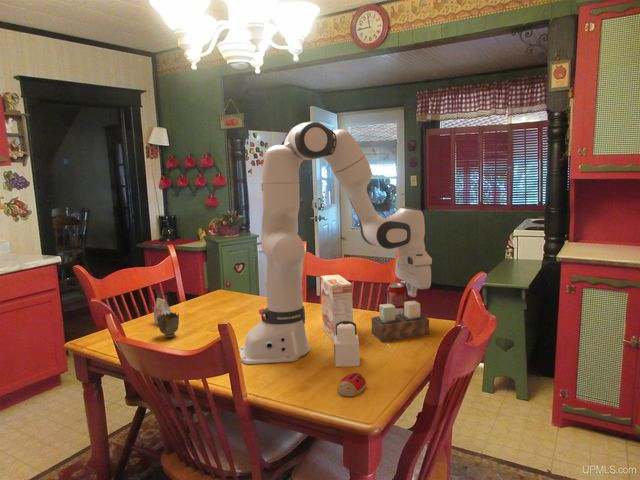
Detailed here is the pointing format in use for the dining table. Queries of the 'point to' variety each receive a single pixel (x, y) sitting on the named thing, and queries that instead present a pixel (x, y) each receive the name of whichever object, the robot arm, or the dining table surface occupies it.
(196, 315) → the dining table surface
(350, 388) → the ladybug figurine
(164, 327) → the cup
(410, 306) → the peg far cream
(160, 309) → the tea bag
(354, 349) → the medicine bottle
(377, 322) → the walnut block
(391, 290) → the soda can
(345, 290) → the coffeecake box
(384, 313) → the peg near sage
